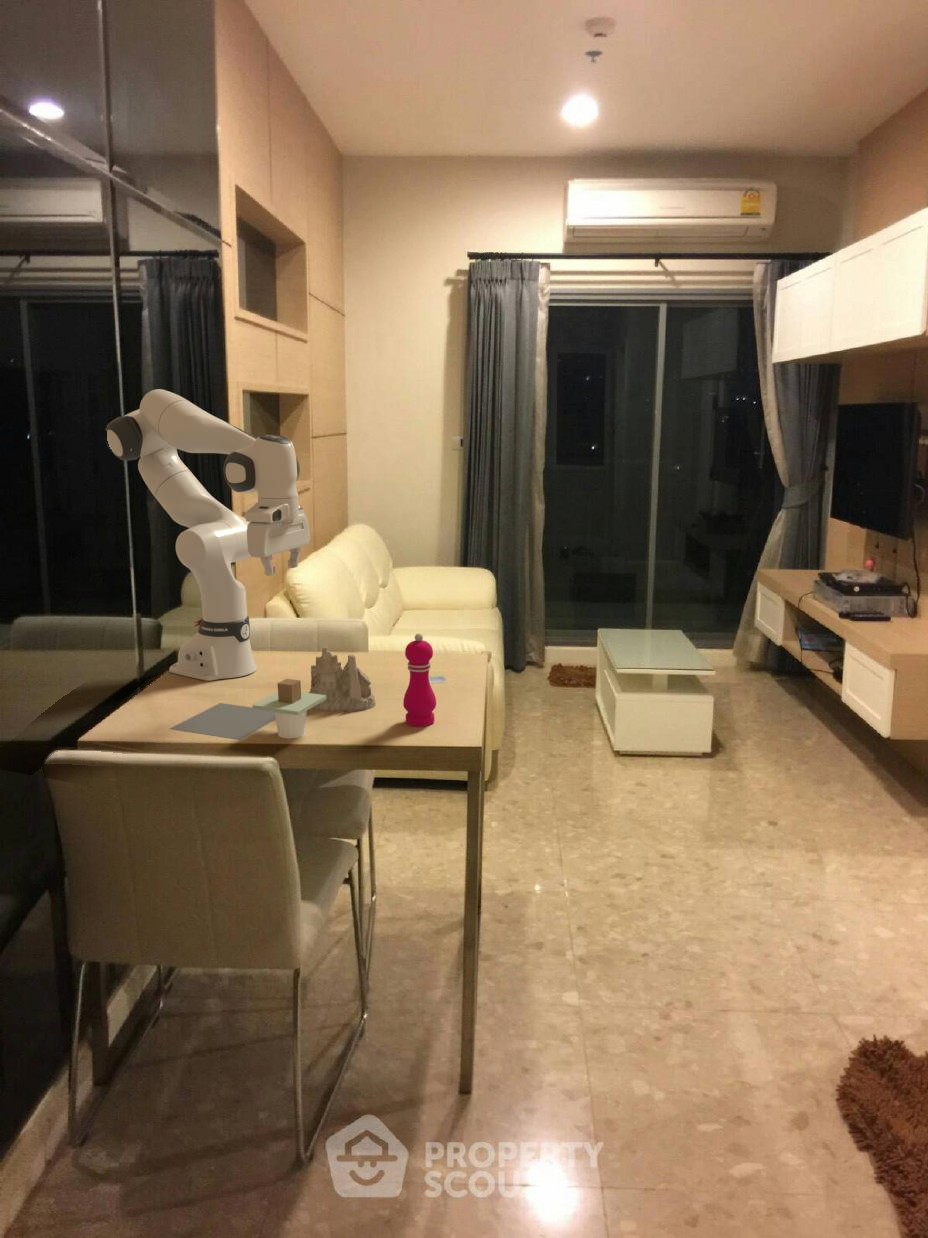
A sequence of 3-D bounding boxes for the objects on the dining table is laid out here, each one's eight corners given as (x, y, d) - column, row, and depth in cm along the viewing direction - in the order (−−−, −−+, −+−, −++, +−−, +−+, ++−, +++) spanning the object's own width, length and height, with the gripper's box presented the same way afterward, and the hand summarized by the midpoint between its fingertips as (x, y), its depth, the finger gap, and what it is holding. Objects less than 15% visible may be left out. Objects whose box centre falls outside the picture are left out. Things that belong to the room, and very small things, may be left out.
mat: (169, 730, 197) (169, 728, 197) (220, 704, 214) (220, 702, 214) (240, 741, 191) (240, 739, 191) (287, 714, 207) (287, 712, 207)
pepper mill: (410, 729, 197) (408, 639, 193) (399, 719, 204) (397, 631, 199) (441, 724, 200) (440, 635, 195) (429, 714, 207) (428, 628, 202)
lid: (252, 708, 190) (251, 686, 189) (282, 692, 200) (281, 671, 199) (298, 715, 186) (297, 692, 185) (326, 698, 196) (325, 677, 195)
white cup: (277, 730, 198) (275, 698, 196) (309, 729, 198) (308, 698, 196) (273, 741, 191) (271, 709, 189) (306, 740, 191) (305, 708, 190)
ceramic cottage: (373, 711, 208) (369, 646, 206) (301, 714, 208) (296, 649, 206) (379, 693, 224) (375, 633, 221) (311, 696, 224) (307, 636, 221)
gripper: (291, 504, 215) (294, 562, 218) (240, 514, 196) (244, 578, 200) (315, 505, 213) (317, 564, 216) (265, 515, 194) (269, 580, 197)
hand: (281, 571), depth 208 cm, fingers open, 8 cm apart
